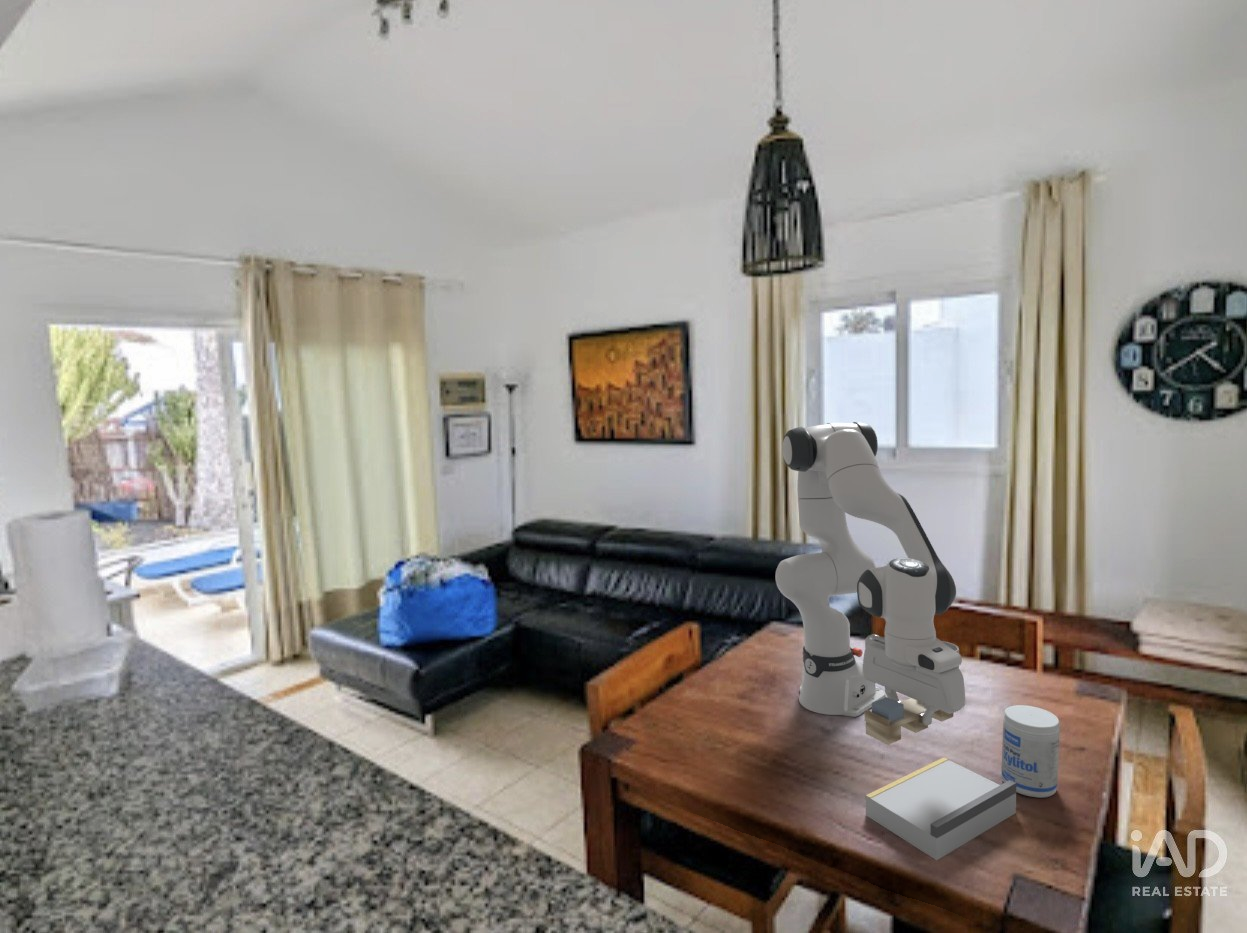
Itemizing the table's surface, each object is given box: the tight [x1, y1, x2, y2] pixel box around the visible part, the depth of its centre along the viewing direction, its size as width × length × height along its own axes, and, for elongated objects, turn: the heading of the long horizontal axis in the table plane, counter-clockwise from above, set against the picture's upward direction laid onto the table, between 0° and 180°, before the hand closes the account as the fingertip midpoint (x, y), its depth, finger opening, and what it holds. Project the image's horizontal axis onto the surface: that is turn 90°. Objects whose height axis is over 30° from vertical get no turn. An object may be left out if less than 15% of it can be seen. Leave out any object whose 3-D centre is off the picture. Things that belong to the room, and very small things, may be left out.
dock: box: [865, 757, 1017, 861], centre depth 129 cm, size 23×15×6 cm, turn 120°
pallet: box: [864, 697, 954, 746], centre depth 131 cm, size 19×5×4 cm, turn 119°
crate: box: [871, 696, 904, 723], centre depth 127 cm, size 4×4×2 cm
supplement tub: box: [1000, 704, 1061, 799], centre depth 136 cm, size 10×10×15 cm
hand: (910, 716), depth 131 cm, fingers closed on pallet, 5 cm apart
